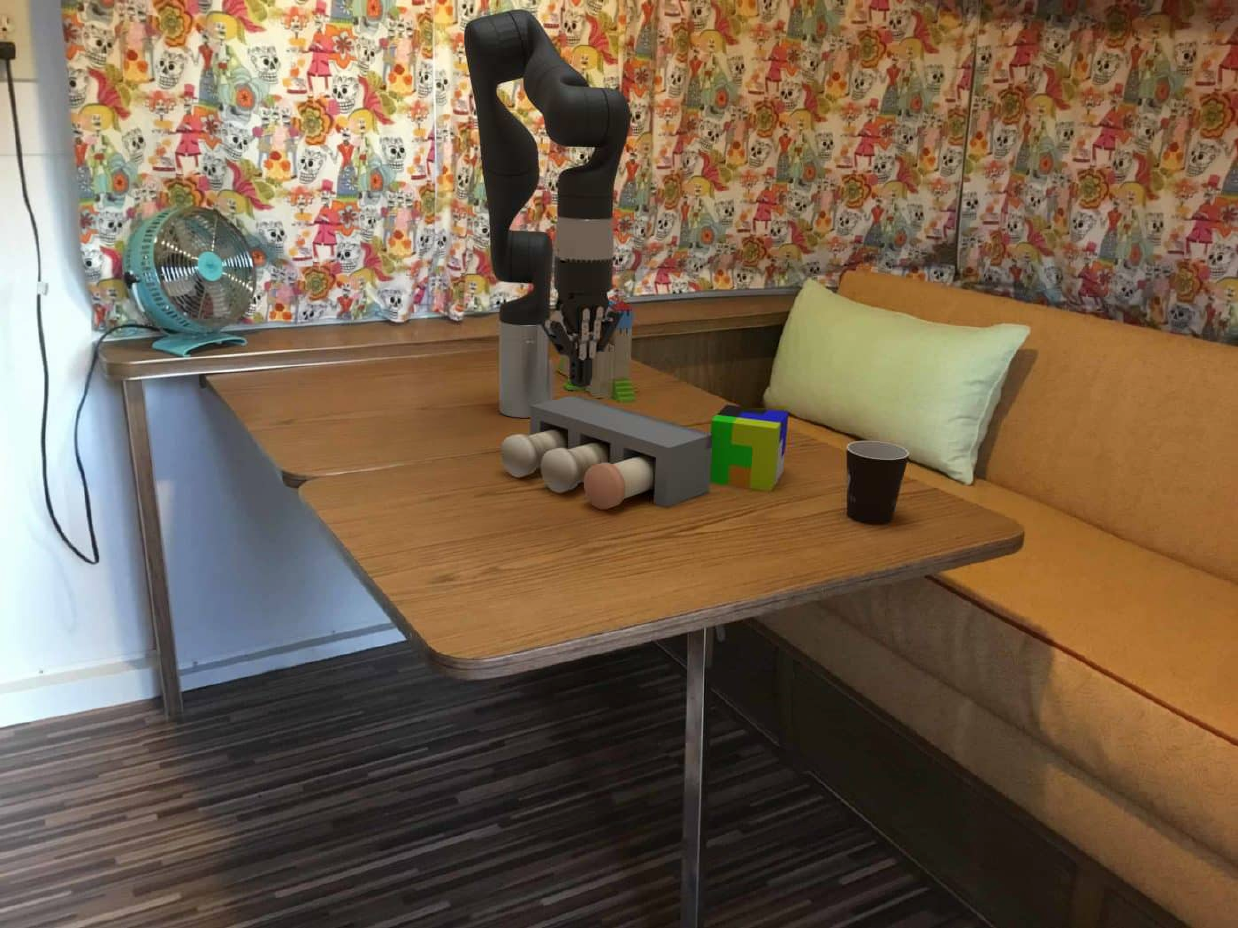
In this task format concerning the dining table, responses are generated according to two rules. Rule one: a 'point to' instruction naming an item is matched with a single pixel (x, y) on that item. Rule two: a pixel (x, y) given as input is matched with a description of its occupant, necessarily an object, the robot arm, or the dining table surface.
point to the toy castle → (610, 362)
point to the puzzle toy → (748, 447)
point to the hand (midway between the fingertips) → (580, 385)
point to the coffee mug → (874, 480)
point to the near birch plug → (530, 450)
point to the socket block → (634, 442)
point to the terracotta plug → (619, 480)
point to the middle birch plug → (572, 464)
